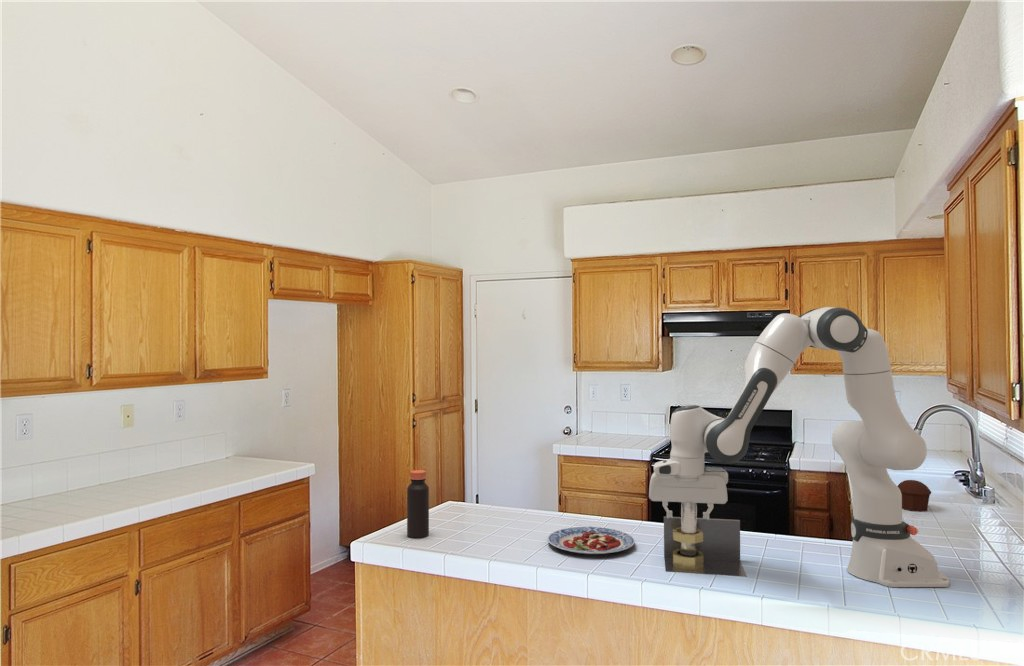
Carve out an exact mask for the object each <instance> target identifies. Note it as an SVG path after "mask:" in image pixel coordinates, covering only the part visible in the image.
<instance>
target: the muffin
mask: <svg viewBox="0 0 1024 666" xmlns="http://www.w3.org/2000/svg"><path fill="white" fill-rule="evenodd" d="M897 486H898V488H899V489H900V491H901V494H902V510H904V511H910V512H921V513H923V512H928V508H929V501H930V495H931V494H932V491H931V490H930V488H929V487H928V486H927V485H926V484H925V483H923V482H922V481H919V480H915V479H905V480H903V481H901V482H900V483H898V485H897Z"/></svg>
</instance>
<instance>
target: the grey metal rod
mask: <svg viewBox="0 0 1024 666" xmlns="http://www.w3.org/2000/svg"><path fill="white" fill-rule="evenodd" d="M680 503H681V504H680V505H681V506H680V507H681V508H680V516H681V533H682V534H692V535H693V534H697V518H698V517H697V516H698V503H695V502H680ZM680 555H682V556H687V557H695V556H697V552H696V543H682V542H681V550H680Z"/></svg>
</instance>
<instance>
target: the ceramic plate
mask: <svg viewBox="0 0 1024 666" xmlns="http://www.w3.org/2000/svg"><path fill="white" fill-rule="evenodd" d="M546 540H547V542H548V543H549V544H550V545H551V546H553V547H555V548H558V549H560V550H564V551H566V552H571V553H576V554H580V555H582V554H583V555H594V556H595V555H597V556H598V555H607V554H611V553H612V554H613V553H618V552H622V551H625V550H627V549H630V548H632V547H633V546H634V544H636V543H635V541H636V540H635V538H634V537H633V536H632V535H630V534H628V533H627V532H625V531H621V530H617V529H614V528H607V527H598V526H574V527H567V528H562V529H558V530H554V531H553V532H552V533H550V534H549V535H548V536H547V539H546Z"/></svg>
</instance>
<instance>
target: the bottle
mask: <svg viewBox="0 0 1024 666" xmlns="http://www.w3.org/2000/svg"><path fill="white" fill-rule="evenodd" d="M409 478H410V484H409V485H408V486H407V488H406V499H407V500H406V509H407V510H406V513H407V514H406V517H407V518H406V519H407V520H406V524H407V525H406V529H407V531H406V533H407V534H406V535H407V537H408V538H412V539H424V538H425V537H428V536H429V534H430V525H429V523H430V522H429V521H430V511H429V509H430V501H429V500H430V488H429V485H427V484H426V479H427V471H426V470H423V469H415V470H411V471H409Z"/></svg>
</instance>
